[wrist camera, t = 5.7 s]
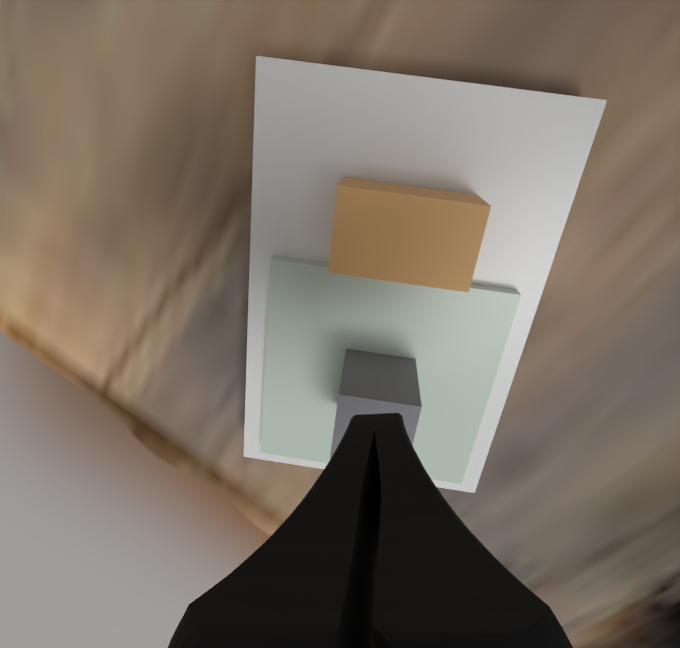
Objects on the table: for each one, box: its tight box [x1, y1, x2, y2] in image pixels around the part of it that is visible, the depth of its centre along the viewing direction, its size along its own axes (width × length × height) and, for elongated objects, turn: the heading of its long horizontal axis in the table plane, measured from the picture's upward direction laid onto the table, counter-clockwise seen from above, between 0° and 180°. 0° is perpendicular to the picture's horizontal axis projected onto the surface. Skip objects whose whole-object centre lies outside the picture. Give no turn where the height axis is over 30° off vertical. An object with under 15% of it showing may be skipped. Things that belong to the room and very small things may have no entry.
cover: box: [260, 255, 521, 484], centre depth 18 cm, size 10×10×4 cm
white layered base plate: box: [244, 56, 607, 493], centre depth 20 cm, size 18×12×2 cm, turn 173°
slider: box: [328, 177, 491, 293], centre depth 16 cm, size 3×5×2 cm, turn 83°
